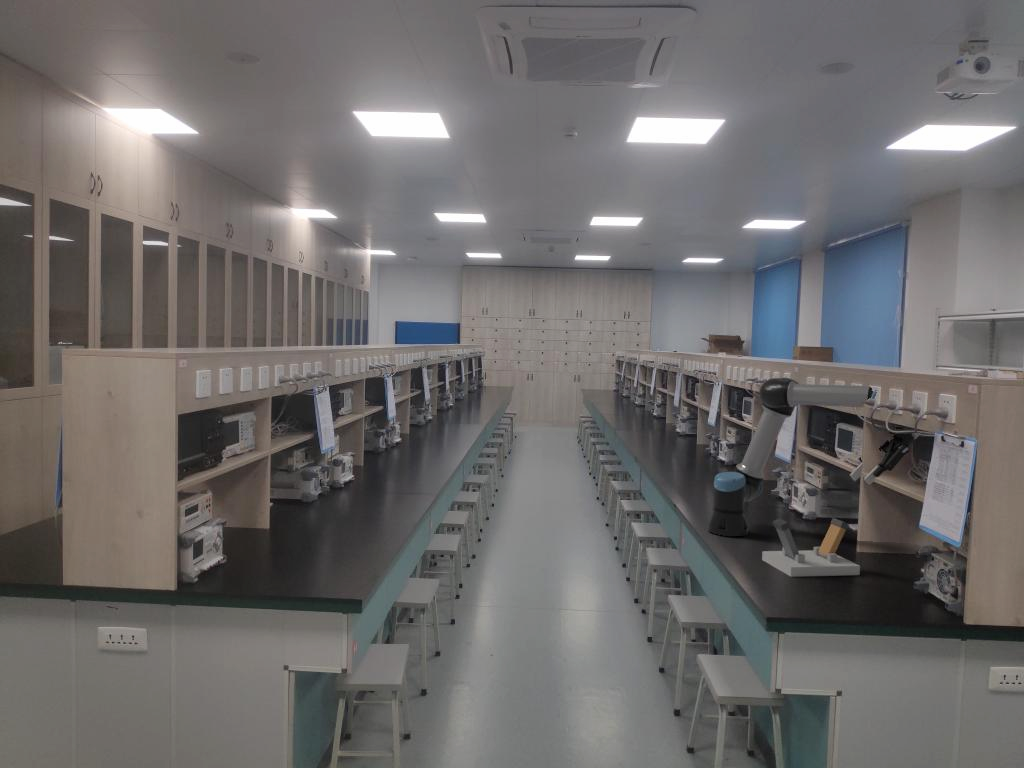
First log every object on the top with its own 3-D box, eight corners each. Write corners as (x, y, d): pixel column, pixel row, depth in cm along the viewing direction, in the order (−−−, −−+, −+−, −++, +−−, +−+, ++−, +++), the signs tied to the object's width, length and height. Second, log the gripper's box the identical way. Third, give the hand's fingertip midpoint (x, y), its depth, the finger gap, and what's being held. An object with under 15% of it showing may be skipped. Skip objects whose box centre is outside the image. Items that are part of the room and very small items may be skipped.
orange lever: (816, 553, 217) (832, 517, 217) (822, 556, 217) (839, 520, 218) (825, 558, 212) (843, 521, 212) (832, 561, 212) (849, 524, 212)
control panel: (762, 559, 220) (762, 544, 220) (826, 558, 224) (827, 543, 224) (790, 576, 204) (791, 559, 203) (859, 574, 207) (860, 558, 207)
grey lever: (786, 557, 215) (772, 521, 214) (792, 553, 216) (778, 518, 214) (795, 561, 210) (780, 525, 209) (802, 558, 210) (787, 522, 209)
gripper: (933, 444, 212) (886, 493, 211) (890, 437, 232) (847, 482, 230) (920, 428, 211) (872, 477, 210) (878, 422, 231) (834, 467, 229)
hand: (859, 480), depth 220 cm, fingers open, 6 cm apart
